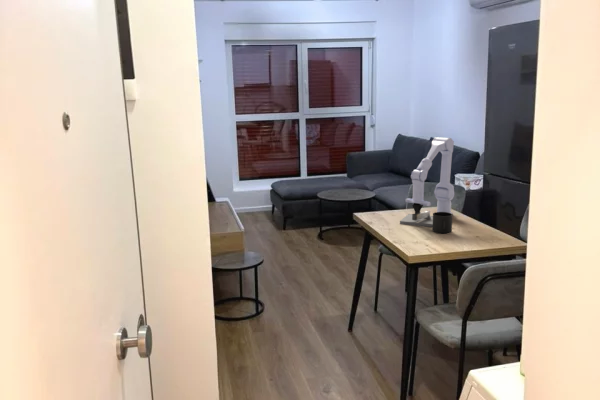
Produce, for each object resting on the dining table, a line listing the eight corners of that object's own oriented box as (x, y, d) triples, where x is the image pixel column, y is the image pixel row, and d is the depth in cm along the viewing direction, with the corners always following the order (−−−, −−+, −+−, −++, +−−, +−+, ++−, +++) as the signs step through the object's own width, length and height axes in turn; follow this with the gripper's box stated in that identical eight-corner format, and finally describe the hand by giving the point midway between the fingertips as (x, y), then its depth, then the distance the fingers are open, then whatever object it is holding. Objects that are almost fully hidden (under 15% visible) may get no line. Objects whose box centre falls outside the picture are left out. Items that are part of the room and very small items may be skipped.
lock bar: (427, 215, 293) (427, 210, 292) (431, 216, 291) (431, 211, 290) (411, 219, 286) (411, 213, 285) (415, 220, 284) (416, 214, 283)
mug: (433, 235, 265) (434, 217, 263) (431, 228, 277) (432, 211, 275) (453, 235, 264) (454, 217, 262) (450, 229, 276) (451, 211, 274)
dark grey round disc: (424, 217, 294) (424, 216, 293) (431, 218, 292) (431, 216, 292) (423, 219, 290) (423, 217, 290) (429, 219, 289) (429, 218, 289)
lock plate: (408, 216, 303) (408, 213, 302) (448, 220, 293) (448, 217, 293) (399, 223, 287) (399, 220, 287) (441, 228, 278) (441, 224, 277)
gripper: (402, 191, 288) (401, 216, 291) (425, 195, 278) (424, 221, 281) (410, 189, 293) (409, 214, 296) (433, 193, 282) (432, 218, 285)
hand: (417, 217), depth 288 cm, fingers closed, pressing on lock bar
